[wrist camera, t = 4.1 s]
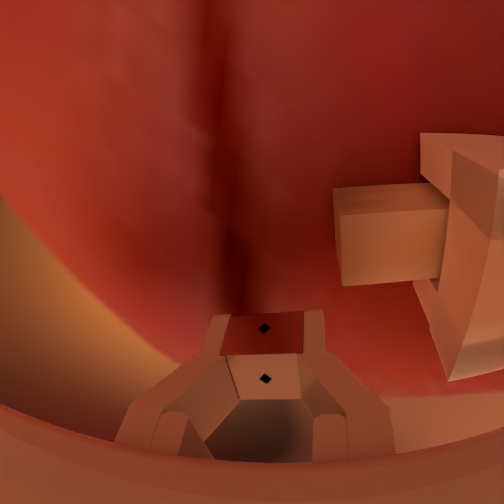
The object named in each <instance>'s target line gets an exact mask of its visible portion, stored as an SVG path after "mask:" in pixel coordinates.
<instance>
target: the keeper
mask: <svg viewBox="0 0 504 504" xmlns="http://www.w3.org/2000/svg"><path fill="white" fill-rule="evenodd" d="M420 174H421V175H423V176H424V177H425V178H426V179H427V180H428V181H429V182H431V183H432V184H433V185H434V186H435V187H436V188H437V189H438V190H440V191H441V192H442V193H443V194H444V195H445V196H446V197H447V198H448V199H449V200H450V204H449V216H448V226H447V235H446V243H445V250H444V257H443V264H442V270H441V276H440V278H430V279H421V280H413V284H412V285H413V287H414V289H415V292H416V294H417V296H418V298H419V301H420V303H421V305H422V308H423V310H424V313H425V315H426V317H427V320H428V322H429V325H430V329H429V330H430V333H431V335H432V338H433V341H434V343H435V346H436V349H437V352H438V354H439V357H440V360H441V363H442V366H443V369H444V372H445V375H446V378H447V381H448V382H449V381H454V380H459V379H464V378H468V377H473V376H477V375H481V374H485V373H489V372H493V371H497V370H501V369H504V136H495V135H479V134H457V133H420Z"/></svg>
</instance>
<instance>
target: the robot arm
mask: <svg viewBox="0 0 504 504" xmlns="http://www.w3.org/2000/svg"><path fill="white" fill-rule="evenodd" d="M239 399H240V400H244V399H245V400H246V399H301V401H302V402H303V404H304V405H305V406H306V408H307V409H308V411H309V412H310V414H311V415H312V417H313V418H314V428H313V455H312V463H251V462H234V461H221V460H214V458H213V457H212V455H211V454H210V452H209V451H208V449H207V447H206V446H205V444H204V441H205V439H206V438H208V436H209V435H210V434H211V433H212V432H213V431H214V430H215V429H216V427H217V426H218V425H219V424H220V423H221V422H222V421H223V420H224V419H225V417H226V416H227V415H228V414H229V413H230V412H231V411H232V409H233V408H234V407H235V406H236V405H237V403H238V402H239ZM0 504H504V427H502V428H499V429H497V430H493V431H490V432H488V433H484V434H481V435H478V436H475V437H471V438H467V439H464V440H460V441H457V442H453V443H449V444H445V445H440V446H436V447H432V448H428V449H423V450H418V451H412V452H407V453H401V454H396V451H395V444H394V437H393V431H392V424H391V419H390V412H389V407H388V406H387V405H386V404H385V403H384V402H383V401H382V400H381V399H380V398H379V397H378V396H377V395H376V394H375V393H374V392H373V391H372V390H370V389H369V388H368V387H367V386H366V385H365V384H364V383H363V382H362V381H361V380H360V379H359V378H358V377H357V376H356V375H355V374H354V373H353V372H352V371H351V370H350V369H349V368H348V367H347V366H346V365H345V364H344V363H343V362H342V361H341V360H340V359H339V358H338V357H337V356H336V355H335V354H334V353H333V352H326V340H325V327H324V314H323V310H322V309H312V310H304V311H293V312H278V313H247V314H215V315H214V316H213V317H212V318H211V321H210V324H209V327H208V330H207V332H206V335H205V338H204V341H203V344H202V347H201V350H200V353H199V356H192V357H191V358H190V359H189V360H187V361H186V362H185V363H184V364H182V365H181V366H180V367H178V368H177V369H176V370H175V371H173V372H172V373H171V374H169V375H168V376H167V377H166V378H164V379H163V380H162V381H160V382H159V383H158V384H156V385H155V386H154V387H153V388H151V389H150V390H149V391H147V392H146V393H145V394H143V395H142V396H141V397H139V398H138V399H137V400H136V401H134V402H133V403H131V404H130V406H129V409H128V411H127V413H126V415H125V418H124V420H123V422H122V425H121V427H120V429H119V432H118V434H117V436H116V438H115V441H114V443H112V442H108V441H104V440H100V439H96V438H93V437H89V436H86V435H82V434H79V433H76V432H72V431H69V430H66V429H63V428H60V427H57V426H54V425H51V424H49V423H46V422H43V421H40V420H38V419H35V418H32V417H30V416H27V415H25V414H22V413H20V412H17V411H15V410H13V409H10V408H8V407H6V406H3V405H1V404H0Z"/></svg>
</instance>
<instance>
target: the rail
mask: <svg viewBox="0 0 504 504" xmlns="http://www.w3.org/2000/svg"><path fill="white" fill-rule="evenodd" d="M332 194H333V209H334V226H335V246H336V254H337V259H338V265H339V271H340V276H341V282H342V287H344V286H356V285H368V284H379V283H390V282H401V281H411V280H421V279H430V278H440V276H441V270H442V264H443V257H444V250H445V243H446V235H447V226H448V216H449V204H450V200H449V199H448V198H447V197H446V196H445V195H444V194H443V193H442V192H441V191H440V190H438V189H437V188H436V187H435V186H434V185H433V184H432V183H408V184H387V185H370V186H354V187H340V188H332Z"/></svg>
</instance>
